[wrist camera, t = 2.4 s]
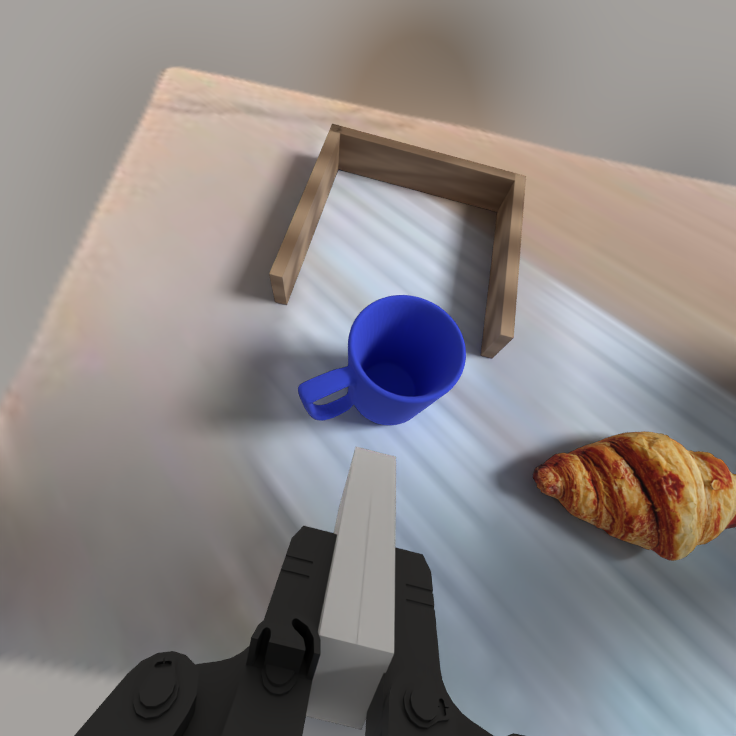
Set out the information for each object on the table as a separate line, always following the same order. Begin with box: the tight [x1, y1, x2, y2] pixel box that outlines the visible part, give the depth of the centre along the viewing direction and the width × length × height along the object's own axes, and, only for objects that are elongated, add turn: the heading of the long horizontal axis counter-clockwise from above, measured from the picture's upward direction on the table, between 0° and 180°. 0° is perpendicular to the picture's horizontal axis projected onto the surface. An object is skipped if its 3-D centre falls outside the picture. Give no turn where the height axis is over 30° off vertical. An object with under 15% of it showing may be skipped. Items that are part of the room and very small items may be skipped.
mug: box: [298, 295, 466, 425], centre depth 29 cm, size 8×12×10 cm
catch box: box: [269, 124, 526, 358], centre depth 39 cm, size 21×22×4 cm
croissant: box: [533, 432, 736, 561], centre depth 31 cm, size 21×10×8 cm, turn 87°
